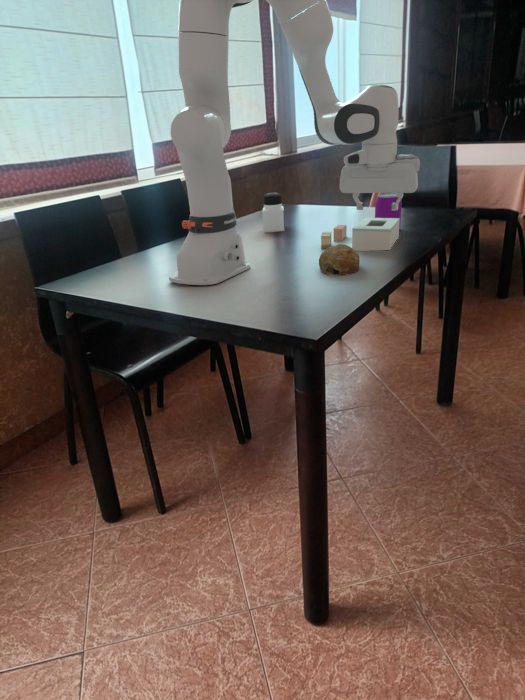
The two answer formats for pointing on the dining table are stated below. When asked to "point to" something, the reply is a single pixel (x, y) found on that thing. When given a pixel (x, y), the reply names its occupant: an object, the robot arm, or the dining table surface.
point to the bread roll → (339, 260)
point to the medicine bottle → (273, 213)
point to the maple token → (326, 240)
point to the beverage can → (387, 206)
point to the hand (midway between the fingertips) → (377, 209)
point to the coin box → (375, 234)
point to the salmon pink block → (339, 232)
